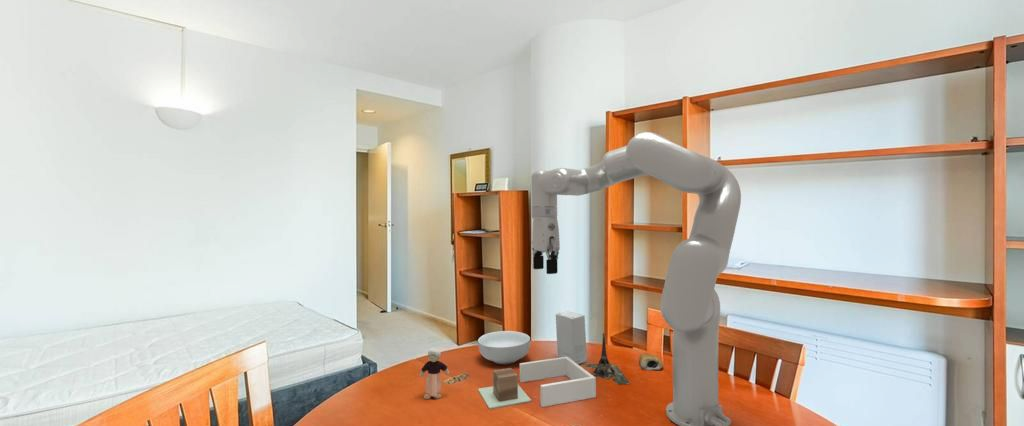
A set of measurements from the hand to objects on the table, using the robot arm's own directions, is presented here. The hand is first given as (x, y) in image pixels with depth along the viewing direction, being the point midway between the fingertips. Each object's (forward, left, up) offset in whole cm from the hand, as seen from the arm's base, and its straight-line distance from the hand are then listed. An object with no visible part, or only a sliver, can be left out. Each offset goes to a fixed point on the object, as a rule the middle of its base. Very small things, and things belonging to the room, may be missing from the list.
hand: (544, 271), depth 118 cm
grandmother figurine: (-3, +33, -31) cm, 45 cm away
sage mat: (-9, +16, -30) cm, 35 cm away
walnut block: (-10, +16, -30) cm, 35 cm away
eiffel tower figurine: (-6, -16, -31) cm, 36 cm away
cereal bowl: (+15, +8, -31) cm, 35 cm away
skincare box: (+7, -12, -31) cm, 34 cm away
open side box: (-10, +2, -30) cm, 32 cm away
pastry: (-5, -33, -31) cm, 45 cm away
